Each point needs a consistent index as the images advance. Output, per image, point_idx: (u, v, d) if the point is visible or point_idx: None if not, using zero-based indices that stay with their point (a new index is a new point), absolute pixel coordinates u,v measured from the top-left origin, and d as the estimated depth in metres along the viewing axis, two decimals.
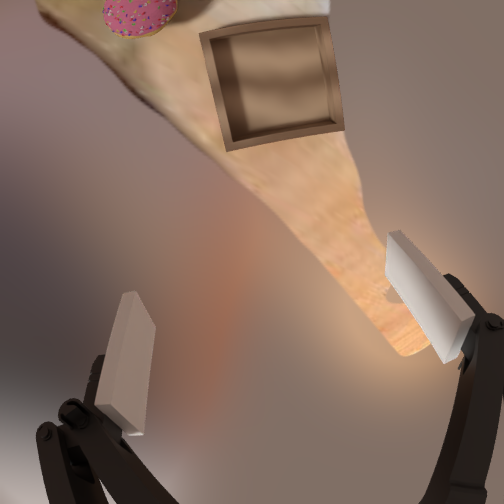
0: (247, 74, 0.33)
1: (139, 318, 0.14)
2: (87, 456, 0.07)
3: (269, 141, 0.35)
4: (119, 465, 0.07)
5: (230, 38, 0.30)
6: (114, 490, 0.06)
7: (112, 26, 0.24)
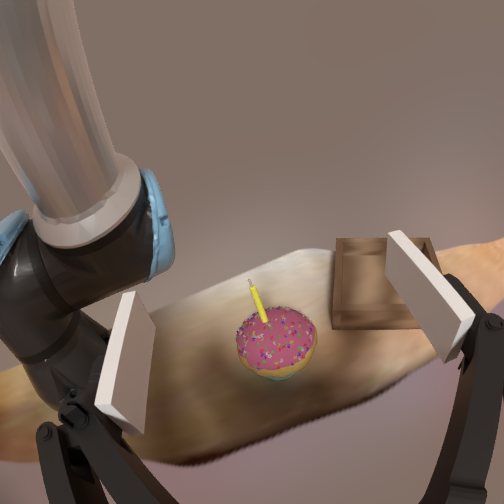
0: (380, 298, 0.38)
1: (139, 318, 0.14)
2: (87, 456, 0.07)
3: None
4: (119, 465, 0.07)
5: (342, 303, 0.38)
6: (114, 490, 0.06)
7: (286, 360, 0.28)
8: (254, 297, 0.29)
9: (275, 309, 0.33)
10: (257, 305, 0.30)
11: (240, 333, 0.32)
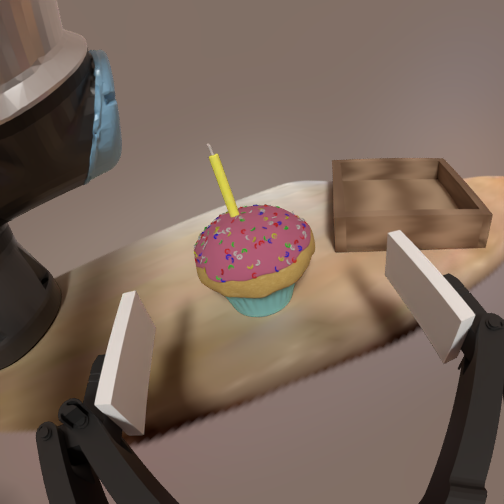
0: None
1: (139, 318, 0.14)
2: (87, 456, 0.07)
3: (470, 189, 0.25)
4: (119, 465, 0.07)
5: None
6: (114, 490, 0.06)
7: (266, 262, 0.18)
8: (216, 171, 0.20)
9: (251, 206, 0.23)
10: (221, 185, 0.20)
11: (199, 238, 0.22)
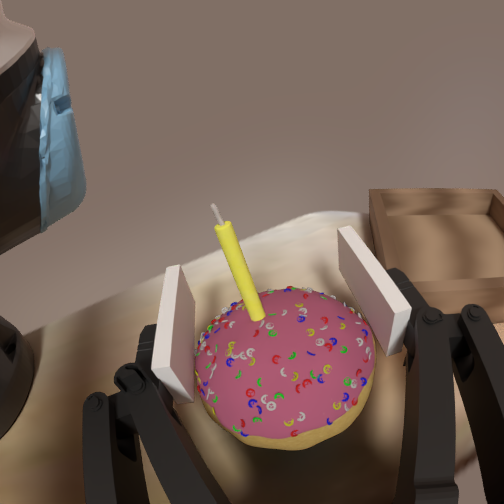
0: (455, 274, 0.20)
1: (184, 290, 0.15)
2: (136, 423, 0.09)
3: None
4: (170, 437, 0.08)
5: None
6: (157, 462, 0.07)
7: (314, 414, 0.10)
8: (228, 254, 0.11)
9: (281, 291, 0.15)
10: (237, 276, 0.12)
11: (202, 346, 0.14)
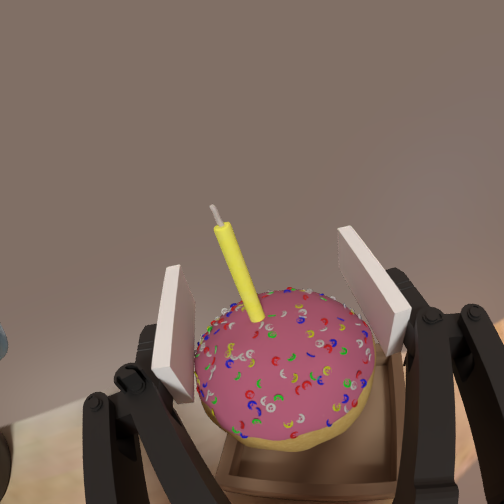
0: (303, 452, 0.22)
1: (184, 290, 0.15)
2: (136, 423, 0.09)
3: None
4: (170, 437, 0.08)
5: (243, 457, 0.23)
6: (158, 462, 0.07)
7: (314, 416, 0.10)
8: (227, 255, 0.11)
9: (281, 292, 0.15)
10: (236, 277, 0.12)
11: (202, 347, 0.14)
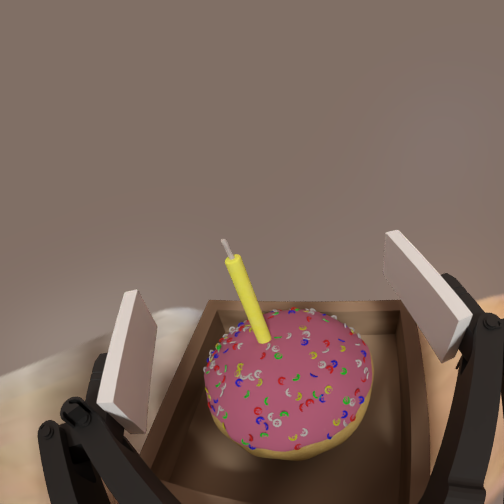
0: None
1: (141, 317, 0.14)
2: (89, 455, 0.07)
3: (426, 429, 0.12)
4: (122, 464, 0.07)
5: (182, 453, 0.16)
6: (116, 489, 0.06)
7: (316, 430, 0.11)
8: (238, 285, 0.12)
9: (285, 313, 0.15)
10: (246, 305, 0.13)
11: (212, 365, 0.14)
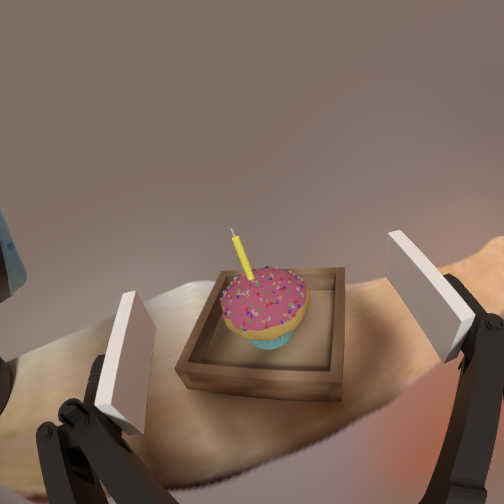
0: (255, 353, 0.30)
1: (139, 318, 0.14)
2: (87, 456, 0.07)
3: (342, 332, 0.26)
4: (120, 465, 0.07)
5: (205, 357, 0.30)
6: (114, 490, 0.06)
7: (275, 317, 0.26)
8: (237, 249, 0.27)
9: (262, 268, 0.31)
10: (241, 259, 0.28)
11: (225, 294, 0.29)
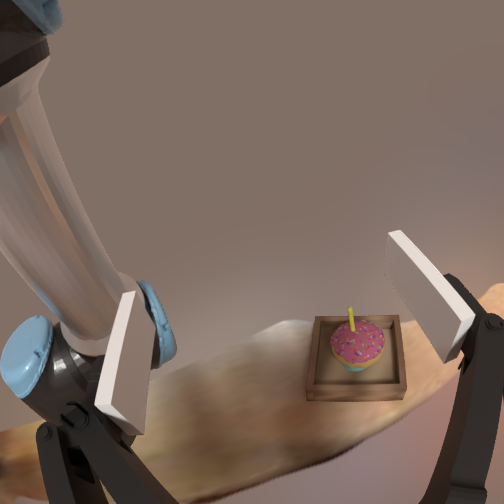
0: (349, 374, 0.44)
1: (139, 318, 0.14)
2: (87, 456, 0.07)
3: (403, 360, 0.41)
4: (119, 465, 0.07)
5: (316, 379, 0.45)
6: (114, 490, 0.06)
7: (371, 355, 0.40)
8: (350, 315, 0.42)
9: (356, 321, 0.45)
10: (351, 320, 0.42)
11: (335, 340, 0.44)
